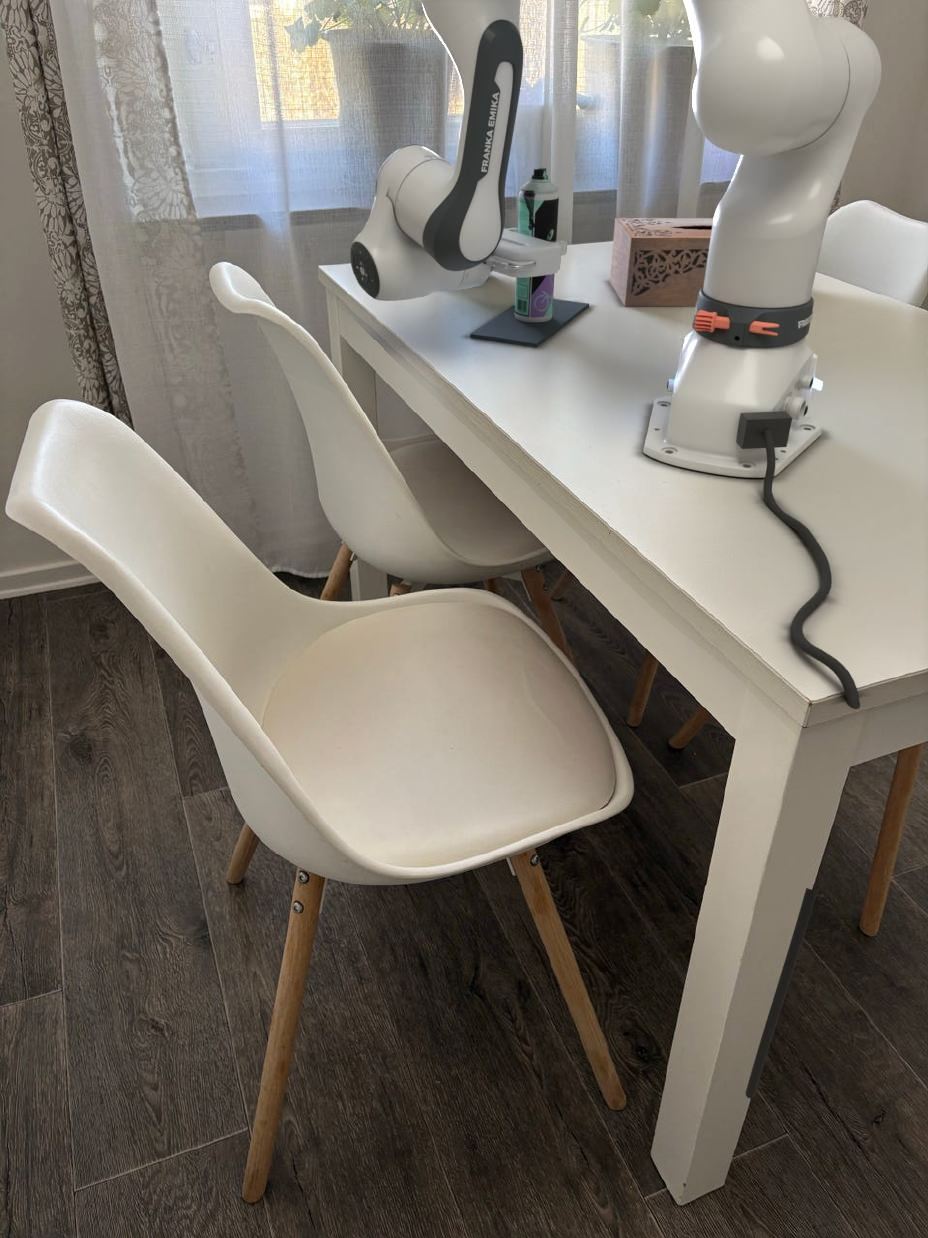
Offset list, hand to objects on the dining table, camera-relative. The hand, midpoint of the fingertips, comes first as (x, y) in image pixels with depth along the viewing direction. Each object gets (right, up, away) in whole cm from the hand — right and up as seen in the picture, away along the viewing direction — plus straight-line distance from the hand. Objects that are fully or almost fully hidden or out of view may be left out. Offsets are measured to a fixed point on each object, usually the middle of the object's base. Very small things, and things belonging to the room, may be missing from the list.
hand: (541, 240), depth 137 cm
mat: (-1, -10, +5) cm, 11 cm away
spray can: (-1, -9, +6) cm, 11 cm away
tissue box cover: (+26, -1, +19) cm, 32 cm away
